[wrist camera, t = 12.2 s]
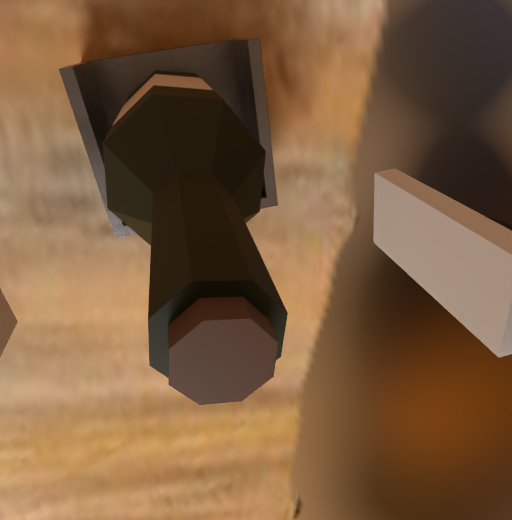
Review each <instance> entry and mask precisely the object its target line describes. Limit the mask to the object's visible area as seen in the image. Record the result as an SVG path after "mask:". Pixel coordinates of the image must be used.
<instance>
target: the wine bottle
mask: <svg viewBox="0 0 512 520" xmlns="http://www.w3.org/2000/svg"><path fill="white" fill-rule="evenodd" d="M103 154H104V167H105V180H106V193H107V206H108V210H110V211H111V212H112V213H113V214H114V215H115V216H117V217H118V218H119V219H120V220H121V221H123V222H124V223H125V224H126V225H127V226H128V227H130V228H131V229H132V230H133V231H134V232H135V233H137V234H138V235H139V236H140V237H141V238H143V239H144V240H145V241H146V242H147V243H148V244H150V245H151V262H150V286H149V311H148V330H149V361H150V366H151V367H153V368H154V369H156V370H157V371H159V372H160V373H162V374H163V375H165V376H166V377H168V378H169V385H170V386H171V387H173V388H174V389H176V390H178V391H179V392H181V393H182V394H184V395H185V396H187V397H188V398H190V399H191V400H193V401H195V402H196V403H198V404H199V405H204V404H215V403H226V402H237V401H242V400H244V399H245V398H246V397H248V396H249V395H250V394H251V393H253V392H254V391H255V390H257V389H258V388H259V387H261V386H262V385H263V384H264V383H266V382H267V381H268V380H270V379H271V378H272V377H273V376H274V369H275V363H276V360H277V359H278V358H280V357H281V352H282V346H283V339H284V333H285V326H286V320H287V314H288V313H287V311H286V309H285V307H284V305H283V302H282V300H281V298H280V296H279V294H278V292H277V290H276V287H275V285H274V283H273V281H272V279H271V277H270V275H269V272H268V270H267V268H266V266H265V264H264V262H263V260H262V258H261V255H260V253H259V251H258V249H257V247H256V245H255V243H254V240H253V238H252V236H251V234H250V232H249V230H248V228H247V225H246V223H247V222H248V221H249V220H250V219H251V218H252V217H254V216H255V215H256V214H257V213H258V212H259V211H260V204H261V194H262V185H263V175H264V165H265V156H266V151H265V149H264V148H263V147H262V146H261V144H260V143H259V142H258V141H257V140H256V138H255V137H254V136H253V135H252V133H251V132H250V131H249V130H248V129H247V127H246V126H245V125H244V124H243V122H242V121H241V120H240V119H239V118H238V116H237V115H236V114H235V113H234V112H233V110H232V109H231V108H230V107H229V105H228V104H227V103H226V102H225V101H224V99H223V98H221V97H220V96H219V95H218V94H217V93H216V92H215V91H214V90H213V89H212V88H211V87H210V86H209V85H208V84H206V83H205V82H204V81H203V80H202V79H201V78H200V77H199V76H198V75H197V74H193V73H182V72H171V71H160V70H155V71H154V72H153V73H152V74H151V75H150V76H149V77H148V78H147V79H146V80H145V81H144V82H143V83H142V84H141V85H140V86H139V87H138V88H137V89H136V90H135V91H134V92H133V93H132V94H131V95H130V96H129V97H128V98H127V100H126V102H125V103H124V105H123V107H122V109H121V111H120V113H119V114H118V116H117V118H116V120H115V122H114V123H113V125H112V127H111V129H110V131H109V133H108V134H107V136H106V138H105V140H104V142H103Z"/></svg>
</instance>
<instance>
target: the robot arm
mask: <svg viewBox="0 0 512 520" xmlns="http://www.w3.org/2000/svg"><path fill="white" fill-rule="evenodd" d="M374 243H375V244H376V245H377V246H378V247H380V249H382V250H383V251H384V252H385V253H386V254H387V255H388V256H389V257H390V258H391V259H392V260H394V261H395V262H396V263H397V264H398V265H399V266H400V267H401V268H402V269H403V270H404V271H405V272H407V273H408V274H409V275H410V276H411V277H412V278H413V279H414V280H415V281H416V282H417V283H418V284H420V285H421V286H422V287H423V288H424V289H425V290H426V291H427V292H428V293H429V294H430V295H432V296H433V297H434V298H435V299H436V300H437V301H438V302H439V303H440V304H441V305H442V306H443V307H444V308H446V309H447V310H448V311H449V312H450V313H451V314H452V315H453V316H454V317H455V318H457V319H458V320H459V321H460V322H461V323H462V324H463V325H464V326H465V327H466V328H467V329H468V330H469V331H471V332H472V333H473V334H474V335H475V336H476V337H477V338H478V339H479V340H480V341H481V342H482V343H484V344H485V345H486V346H487V347H488V348H489V349H490V350H491V351H492V352H493V353H494V354H496V355H497V356H498V357H502V356H506V355H510V354H512V225H511V224H509V223H507V222H505V221H503V220H499V219H495V218H492V217H488V216H483V215H481V214H479V213H477V212H476V211H474V210H472V209H470V208H468V207H466V206H464V205H462V204H460V203H459V202H456V201H455V200H453V199H451V198H449V197H447V196H445V195H443V194H442V193H440V192H438V191H436V190H434V189H432V188H430V187H429V186H427V185H425V184H423V183H421V182H419V181H417V180H415V179H413V178H412V177H410V176H408V175H406V174H404V173H402V172H400V171H398V170H396V169H391V170H386V171H381V172H376V173H375V187H374ZM17 322H18V321H17V319H16V317H15V316H14V314H13V312H12V310H11V308H10V306H9V304H8V302H7V300H6V299H5V297H4V295H3V293H2V291H1V289H0V356H1V354H2V352H3V350H4V348H5V346H6V344H7V342H8V340H9V338H10V336H11V334H12V332H13V330H14V328H15V326H16V324H17Z"/></svg>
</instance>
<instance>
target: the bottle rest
mask: <svg viewBox="0 0 512 520" xmlns="http://www.w3.org/2000/svg"><path fill="white" fill-rule="evenodd" d="M155 70H160V71H171V72H182V73H193V74H197V75H198V76H199V77H200V78H201V79H202V80H203V81H204V82H205V83H206V84H208V85H209V86H210V87H211V88H212V89H213V90H214V91H215V92H216V93H217V94H218V95H219V96H220V97H221V98H223V99H224V101H225V102H226V103H227V104H228V105H229V107H230V108H231V109H232V110H233V112H234V113H235V114H236V115H237V116H238V118H239V119H240V120H241V121H242V122H243V124H244V125H245V126H246V127H247V129H248V130H249V131H250V132H251V133H252V135H253V136H254V137H255V138H256V140H257V141H258V142H259V143H260V144H261V146H262V147H263V148H264V149H265V151H266V156H265V165H264V175H263V185H262V194H261V204H260V209H262V208H267V207H272V206H276V205H278V202H277V193H276V183H275V174H274V165H273V156H272V147H271V137H270V128H269V119H268V110H267V101H266V91H265V82H264V73H263V64H262V55H261V45H260V38H255V39H234V40H227V41H221V42H214V43H207V44H201V45H194V46H187V47H181V48H174V49H168V50H161V51H154V52H148V53H141V54H134V55H128V56H121V57H115V58H108V59H101V60H95V61H88V62H82V63H78V64H74V65H71V66H67V67H64V68H60V69H59V71H60V74H61V77H62V80H63V82H64V85H65V88H66V91H67V94H68V97H69V100H70V103H71V106H72V109H73V112H74V115H75V118H76V121H77V124H78V127H79V130H80V133H81V136H82V139H83V142H84V145H85V148H86V151H87V154H88V157H89V160H90V163H91V166H92V169H93V172H94V175H95V178H96V181H97V184H98V187H99V190H100V193H101V196H102V199H103V202H104V205H105V208H106V211H107V214H108V217H109V220H110V223H111V226H112V229H113V232H114V235H115V238H118V237H123V236H128V235H133V234H137V233H135V232H134V231H133V230H132V229H131V228H130V227H128V226H127V225H126V224H125V223H124V222H123V221H121V220H120V219H119V218H118V217H117V216H115V215H114V214H113V213H112V212H111V211H110V210H108V206H107V193H106V180H105V167H104V154H103V142H104V140H105V138H106V136H107V134H108V133H109V131H110V129H111V127H112V125H113V123H114V122H115V120H116V118H117V116H118V114H119V113H120V111H121V109H122V107H123V105H124V103H125V102H126V100H127V98H128V97H129V96H130V95H131V94H132V93H133V92H134V91H135V90H136V89H137V88H138V87H139V86H140V85H141V84H142V83H143V82H144V81H145V80H146V79H147V78H148V77H149V76H150V75H151V74H152V73H153V72H154V71H155Z"/></svg>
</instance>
